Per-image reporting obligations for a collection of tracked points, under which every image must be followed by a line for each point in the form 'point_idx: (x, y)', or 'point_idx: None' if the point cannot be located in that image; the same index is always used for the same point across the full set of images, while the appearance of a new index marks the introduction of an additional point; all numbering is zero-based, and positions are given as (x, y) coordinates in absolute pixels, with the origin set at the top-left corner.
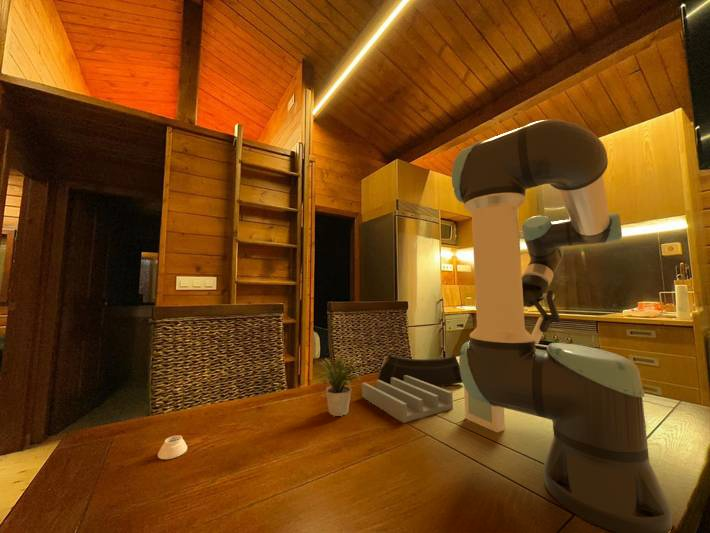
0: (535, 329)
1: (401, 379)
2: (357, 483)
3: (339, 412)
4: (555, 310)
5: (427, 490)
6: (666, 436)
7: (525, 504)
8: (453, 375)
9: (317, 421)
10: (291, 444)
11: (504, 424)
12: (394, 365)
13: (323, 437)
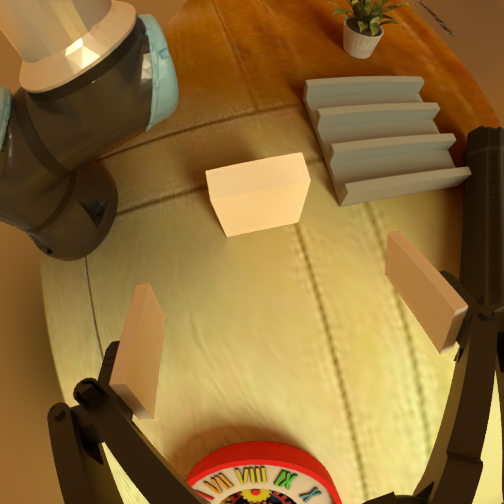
0: (133, 313)
1: (471, 174)
2: (198, 35)
3: (343, 42)
4: (51, 442)
5: None
6: (123, 470)
7: None
8: None
9: (333, 28)
10: (283, 7)
11: (225, 233)
12: (486, 145)
13: (289, 25)
